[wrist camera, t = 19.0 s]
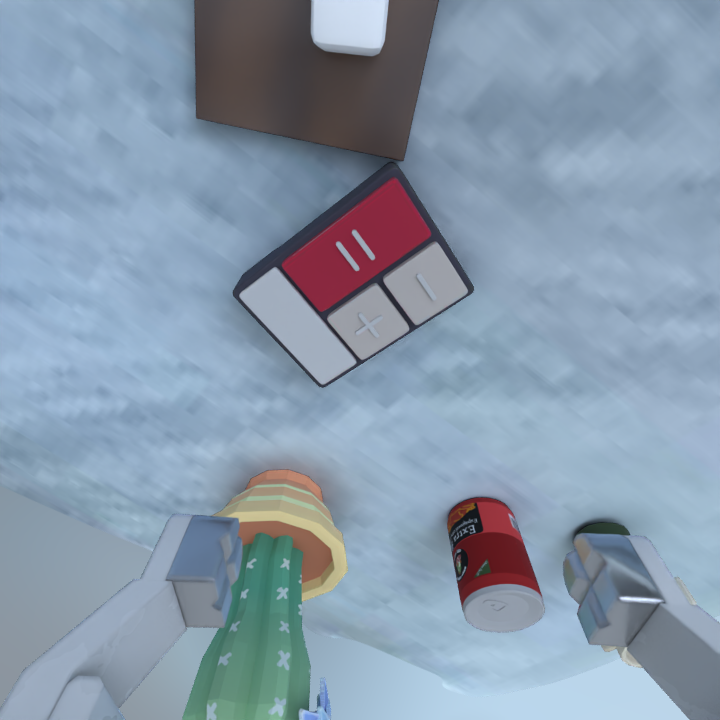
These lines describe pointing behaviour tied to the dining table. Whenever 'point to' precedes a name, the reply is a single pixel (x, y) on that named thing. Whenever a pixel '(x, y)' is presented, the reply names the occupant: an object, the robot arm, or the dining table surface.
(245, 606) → the potted cactus
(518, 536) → the canned food
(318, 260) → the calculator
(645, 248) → the dining table surface
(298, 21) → the board
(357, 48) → the pepper shaker
